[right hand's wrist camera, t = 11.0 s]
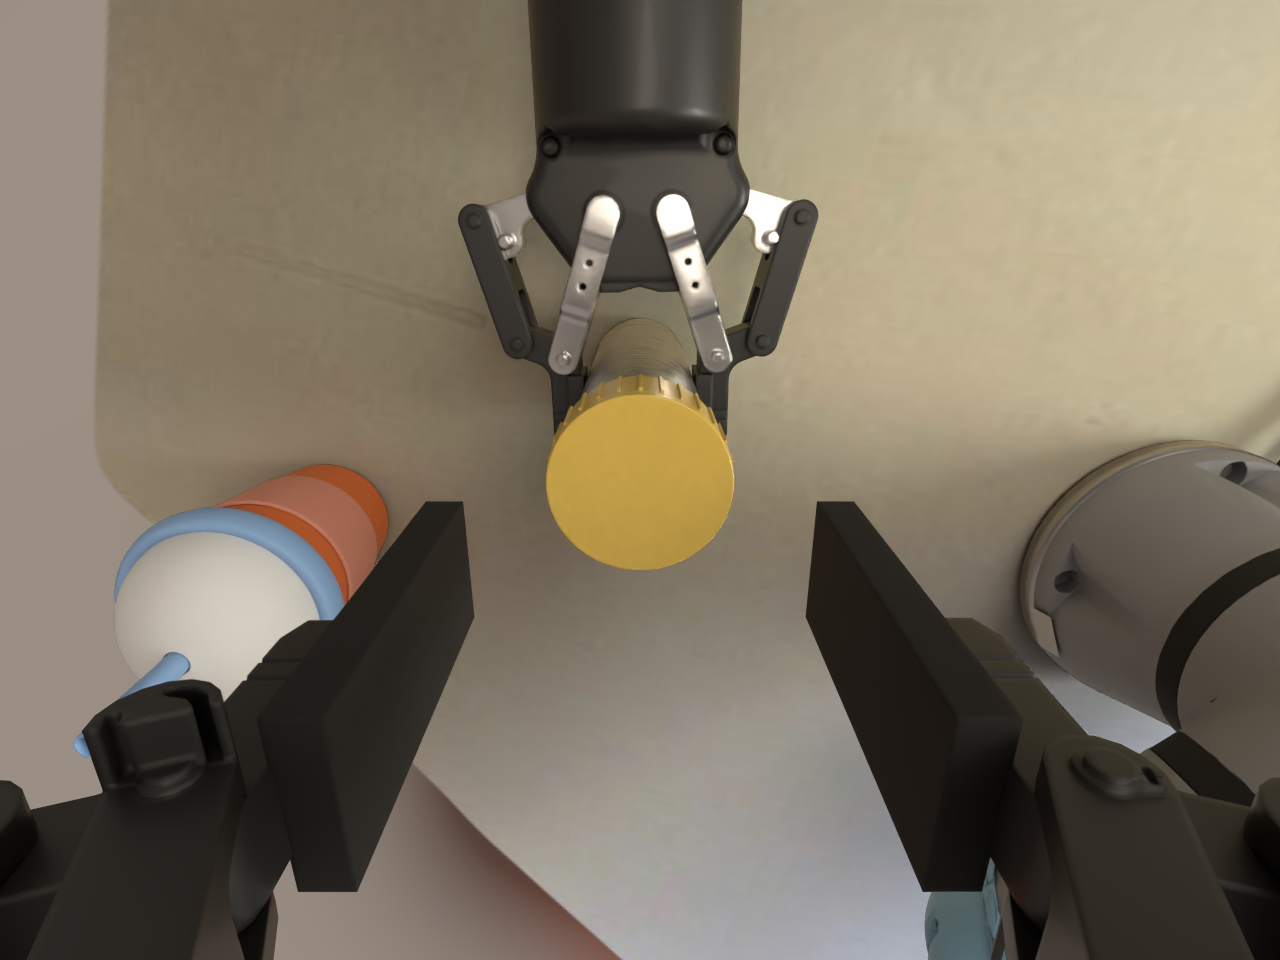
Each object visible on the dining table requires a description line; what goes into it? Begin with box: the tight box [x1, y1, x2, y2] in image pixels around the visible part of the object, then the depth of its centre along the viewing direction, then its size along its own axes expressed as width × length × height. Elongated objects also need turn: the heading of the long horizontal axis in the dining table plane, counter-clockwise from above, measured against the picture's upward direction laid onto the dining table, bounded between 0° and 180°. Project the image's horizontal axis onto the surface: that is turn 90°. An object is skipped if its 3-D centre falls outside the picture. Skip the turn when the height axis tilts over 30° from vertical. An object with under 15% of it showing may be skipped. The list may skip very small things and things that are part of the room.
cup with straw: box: [73, 465, 388, 758], centre depth 29 cm, size 9×9×18 cm
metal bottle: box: [581, 318, 698, 398], centre depth 27 cm, size 5×5×17 cm
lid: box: [545, 374, 735, 570], centre depth 19 cm, size 5×5×2 cm
